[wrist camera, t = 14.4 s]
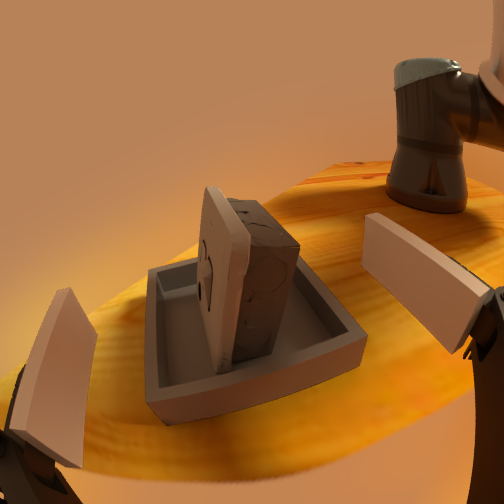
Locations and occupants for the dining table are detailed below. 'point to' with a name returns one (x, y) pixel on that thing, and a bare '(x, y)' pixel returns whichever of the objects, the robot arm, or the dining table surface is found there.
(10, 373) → the dining table surface
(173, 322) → the box
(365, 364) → the dining table surface
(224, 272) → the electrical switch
